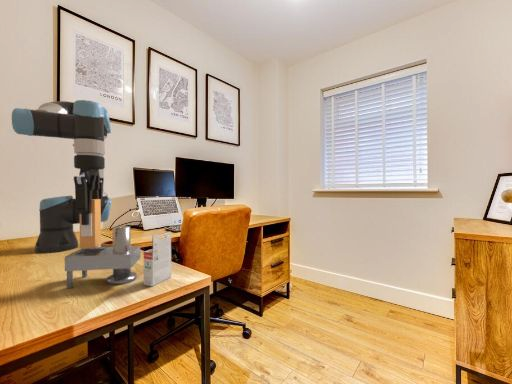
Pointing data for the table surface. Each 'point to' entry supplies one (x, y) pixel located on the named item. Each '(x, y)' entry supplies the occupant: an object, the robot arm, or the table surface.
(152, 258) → the ink box
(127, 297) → the table surface
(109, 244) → the mug
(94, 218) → the orange rectangular prism
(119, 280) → the legged grey stand
